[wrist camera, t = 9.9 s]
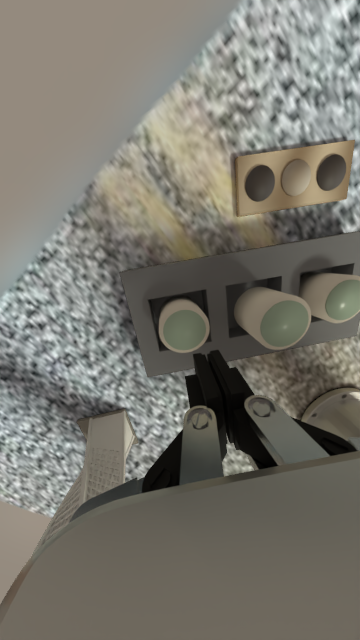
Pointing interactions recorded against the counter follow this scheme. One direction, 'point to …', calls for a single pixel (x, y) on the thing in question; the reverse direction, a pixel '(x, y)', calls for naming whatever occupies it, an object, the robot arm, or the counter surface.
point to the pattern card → (293, 177)
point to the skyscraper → (96, 464)
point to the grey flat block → (234, 296)
